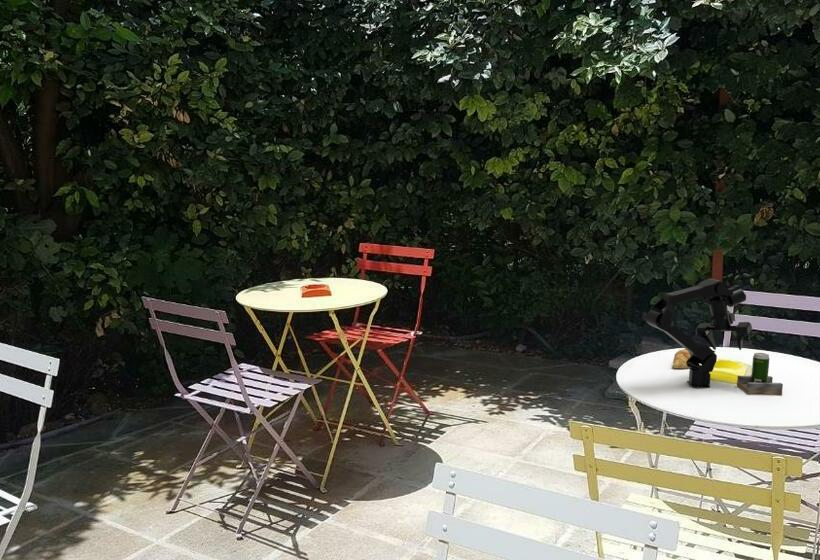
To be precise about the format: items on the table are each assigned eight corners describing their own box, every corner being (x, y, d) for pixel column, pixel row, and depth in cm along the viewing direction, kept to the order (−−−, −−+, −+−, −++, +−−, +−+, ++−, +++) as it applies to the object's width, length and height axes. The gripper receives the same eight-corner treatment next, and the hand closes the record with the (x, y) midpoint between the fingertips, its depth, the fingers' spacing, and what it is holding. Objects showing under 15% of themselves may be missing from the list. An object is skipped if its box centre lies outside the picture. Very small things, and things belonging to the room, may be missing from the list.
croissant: (680, 379, 289) (690, 364, 285) (659, 363, 295) (669, 348, 291) (703, 368, 304) (713, 353, 300) (683, 353, 309) (693, 338, 305)
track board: (747, 394, 260) (748, 383, 259) (736, 385, 270) (737, 375, 269) (781, 395, 259) (782, 384, 259) (769, 386, 269) (770, 376, 269)
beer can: (766, 389, 261) (769, 357, 259) (750, 387, 263) (753, 355, 261) (767, 385, 266) (769, 353, 264) (750, 383, 268) (753, 351, 266)
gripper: (752, 301, 267) (760, 339, 271) (701, 303, 280) (709, 340, 283) (743, 314, 259) (751, 353, 263) (691, 315, 272) (700, 353, 276)
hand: (727, 349), depth 271 cm, fingers open, 9 cm apart
